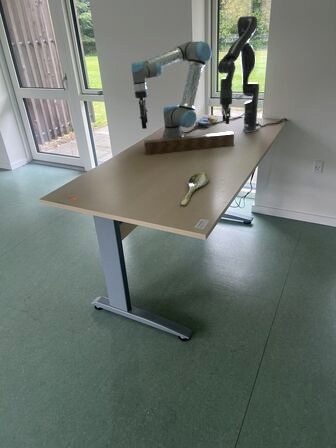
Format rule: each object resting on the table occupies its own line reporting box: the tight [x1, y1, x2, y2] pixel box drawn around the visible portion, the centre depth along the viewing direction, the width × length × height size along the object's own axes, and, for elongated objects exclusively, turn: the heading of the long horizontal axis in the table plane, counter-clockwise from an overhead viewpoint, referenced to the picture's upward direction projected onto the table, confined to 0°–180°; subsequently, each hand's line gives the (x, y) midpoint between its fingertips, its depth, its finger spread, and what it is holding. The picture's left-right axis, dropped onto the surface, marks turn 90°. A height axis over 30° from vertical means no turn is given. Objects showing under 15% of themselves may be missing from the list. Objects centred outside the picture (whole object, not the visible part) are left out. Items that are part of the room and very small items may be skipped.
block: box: [143, 131, 235, 156], centre depth 222 cm, size 59×5×8 cm, turn 95°
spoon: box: [180, 171, 210, 207], centre depth 170 cm, size 35×11×2 cm, turn 159°
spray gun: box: [195, 115, 218, 128], centre depth 272 cm, size 21×4×15 cm
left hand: (145, 125), depth 214 cm, fingers open, 13 cm apart
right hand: (225, 122), depth 217 cm, fingers open, 8 cm apart
